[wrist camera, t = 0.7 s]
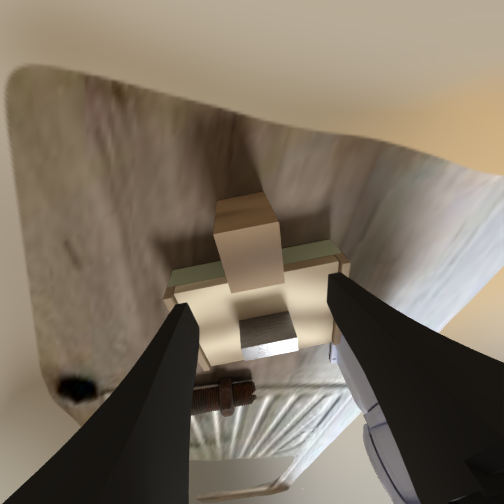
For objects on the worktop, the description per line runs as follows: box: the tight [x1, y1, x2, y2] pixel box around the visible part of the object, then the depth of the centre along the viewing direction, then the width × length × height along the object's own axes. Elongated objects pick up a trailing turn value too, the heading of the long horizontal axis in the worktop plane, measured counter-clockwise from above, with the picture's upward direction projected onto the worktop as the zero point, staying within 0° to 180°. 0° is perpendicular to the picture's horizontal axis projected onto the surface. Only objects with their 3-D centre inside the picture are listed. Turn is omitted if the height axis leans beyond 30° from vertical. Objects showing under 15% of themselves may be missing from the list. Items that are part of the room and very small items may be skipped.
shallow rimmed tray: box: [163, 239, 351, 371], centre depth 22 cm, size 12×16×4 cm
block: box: [213, 192, 285, 294], centre depth 16 cm, size 5×4×6 cm
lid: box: [174, 255, 339, 366], centre depth 20 cm, size 12×14×4 cm
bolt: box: [191, 378, 256, 417], centre depth 32 cm, size 6×5×15 cm
